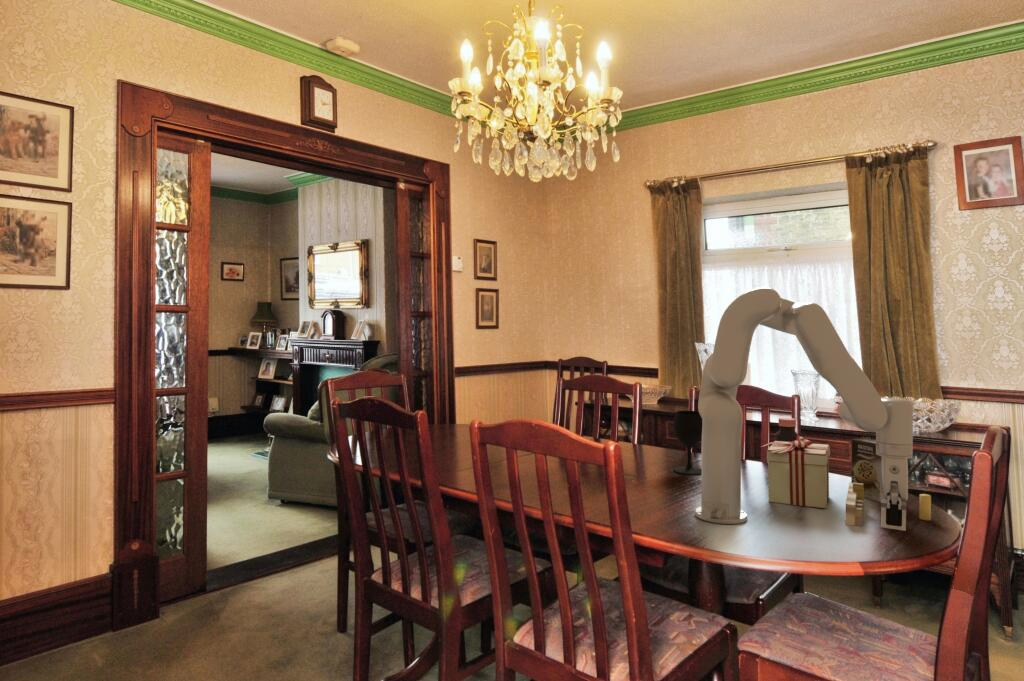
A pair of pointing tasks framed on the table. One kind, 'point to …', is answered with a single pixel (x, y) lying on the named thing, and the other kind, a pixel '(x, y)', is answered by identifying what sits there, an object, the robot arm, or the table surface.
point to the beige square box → (883, 516)
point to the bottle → (786, 430)
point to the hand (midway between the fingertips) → (893, 519)
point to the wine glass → (688, 436)
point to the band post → (925, 507)
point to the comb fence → (854, 504)
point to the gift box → (798, 473)
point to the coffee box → (867, 468)
